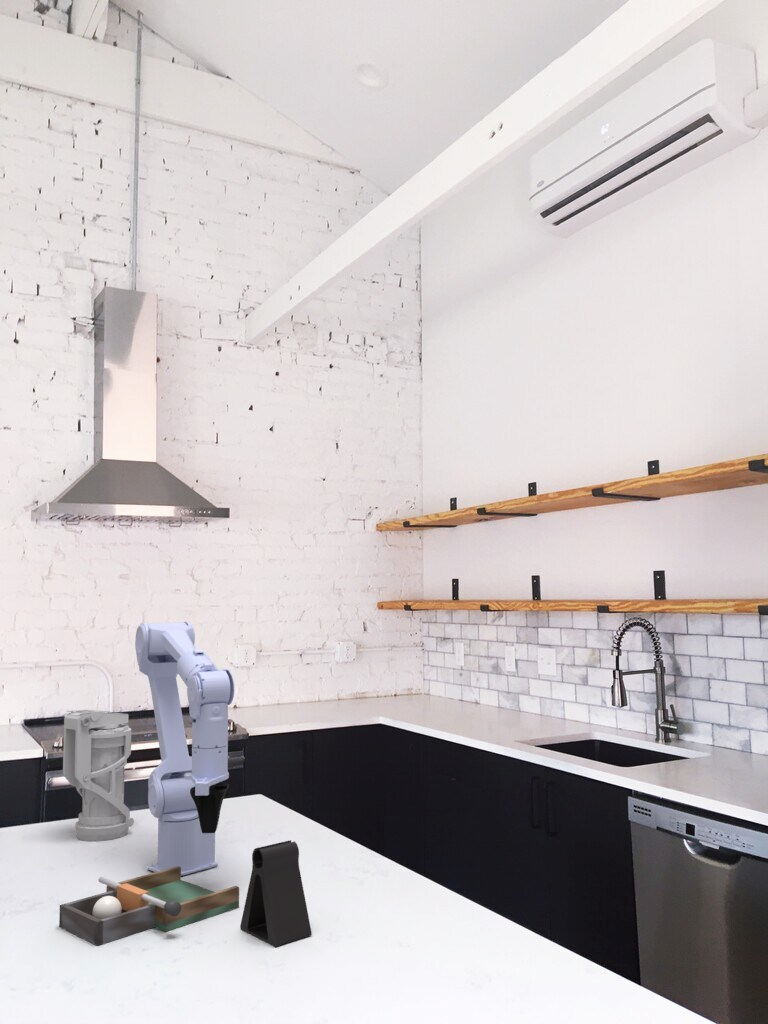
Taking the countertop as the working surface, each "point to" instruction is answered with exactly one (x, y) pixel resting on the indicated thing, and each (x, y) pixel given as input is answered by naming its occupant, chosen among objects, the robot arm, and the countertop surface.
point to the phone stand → (276, 896)
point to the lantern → (98, 771)
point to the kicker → (139, 898)
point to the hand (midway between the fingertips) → (209, 832)
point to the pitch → (147, 908)
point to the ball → (106, 907)
